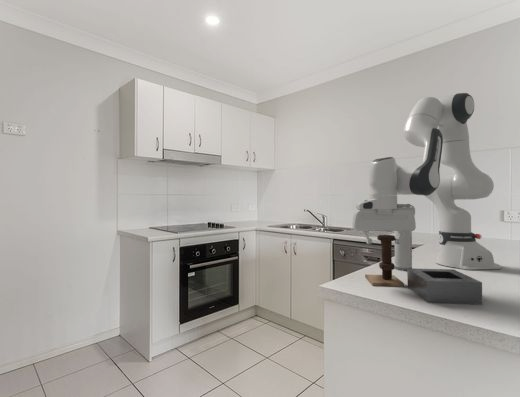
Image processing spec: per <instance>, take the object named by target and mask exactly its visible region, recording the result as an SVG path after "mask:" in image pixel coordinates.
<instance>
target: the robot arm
mask: <svg viewBox="0 0 520 397" xmlns="http://www.w3.org/2000/svg"><path fill="white" fill-rule="evenodd" d="M474 111H475V101H474V97H472V95H471V94H469V93H468V92H459V93H455V94H451V95H446V96H442V97H439V98H436V97H434V96H425V97H422V98H420V99H418V101H417V102H416V103H415V105H414V106H413V108H412V109H411V111H410V113H409V114H408V117H407V119H406V121H405V123H404V126H403V131H402V132H403V136H404V138H405V140H406V141H407V142H408V143H410V144H411V145H413V146H415V147H419V148H424V150H423V156H422V162H420V163H419V164H418V165H413V166H407V167H402V166H401V165H399V164H397V163H396V159H395V157H393V156H388V157H387V156H386V157H382V158H381V157H380V158H375V159H374V160H372V161H371V163H370V166H369V179H368V180H369V186H370V191H369V199H365V200H362V201H360V202H359V201H358V202H356V204H355V208H356V209H355V211H354V212H353V215H352V228H353V230H354V231H356V232H357V231H358V232H359V231H362V234H363V235H364V237H365V239H366V244H367V245H373V238H371V237H369V236H368V235H369V233H370V232H395V231H398V234H399V236H398V238H397V239H395V241H394V245H395V244H401V239H402V237H403V236H404V231H412V232H414V231H415V230H416V228H417V226H416V224H417V223H416V218H415V215H416V208H415V206H414V205H412V204H410V203H398V195H404V196H405V195H407V196H410V195H416V196H424V197H426V199H428V200H430V201H431V202H432V203H433V205H434V206H435V207H436V209H437V211H438V214H439V215H438V216H439V231H438V244H439V248H438V253H437V254H438V255H437V258H436V261H435V263H436V264H438V265H441V266H444V267H451V268H456V269H461V270H472V271H473V270H475V271H476V270H502V265H500V264H498V263H496V262H495V259H494V255H493V253H492V252H491V250H489V249H487V248H486V247H484V246H483V245H481V243H479V242H478V241H477V239H478V240H481V238H482V234H479V233H474V232H472V216H471V214H470V212H469V211H467V210H466V209H464V208H462V207H459V206H458V205H457V204H456V203H455V201H456V200H479V199H484V198H488V197H490V195H491V194H492V193H493V191H494V186H495V185H494V181H493V178H492V177H491V176H489V174H486V173H485V172H483V171H481V170H480V169H479V168H478V167H477V166H476V165H475V164H474V162H473V159H472V156H471V147H470V135H469V128H468V123H467V122H468V121H469V119H470V118H471V117H472V115H473V113H474ZM441 164H442V165H444V166H446V167H448V168H452V169H453V170H454V172H455V173H453V174H451V173H449V174H440V167H441Z"/></svg>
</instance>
